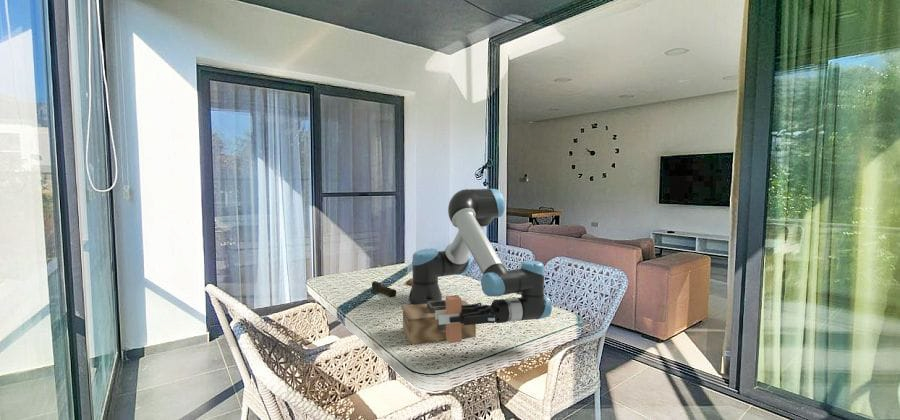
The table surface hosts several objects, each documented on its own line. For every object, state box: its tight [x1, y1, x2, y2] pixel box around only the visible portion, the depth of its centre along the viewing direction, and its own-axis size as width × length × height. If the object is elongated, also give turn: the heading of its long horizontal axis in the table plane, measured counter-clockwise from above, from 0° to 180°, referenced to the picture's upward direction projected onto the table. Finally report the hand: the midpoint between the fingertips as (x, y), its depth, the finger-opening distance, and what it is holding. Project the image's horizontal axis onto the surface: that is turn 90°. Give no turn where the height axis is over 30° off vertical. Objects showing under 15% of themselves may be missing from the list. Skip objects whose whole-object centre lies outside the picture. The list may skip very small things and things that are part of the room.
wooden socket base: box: [401, 299, 477, 345], centre depth 149 cm, size 25×15×11 cm, turn 106°
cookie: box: [406, 277, 413, 287], centre depth 217 cm, size 10×11×3 cm
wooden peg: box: [445, 294, 463, 344], centre depth 130 cm, size 4×4×14 cm
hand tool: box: [371, 280, 397, 299], centre depth 200 cm, size 19×4×5 cm, turn 40°
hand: (437, 317), depth 128 cm, fingers closed on wooden peg, 4 cm apart
